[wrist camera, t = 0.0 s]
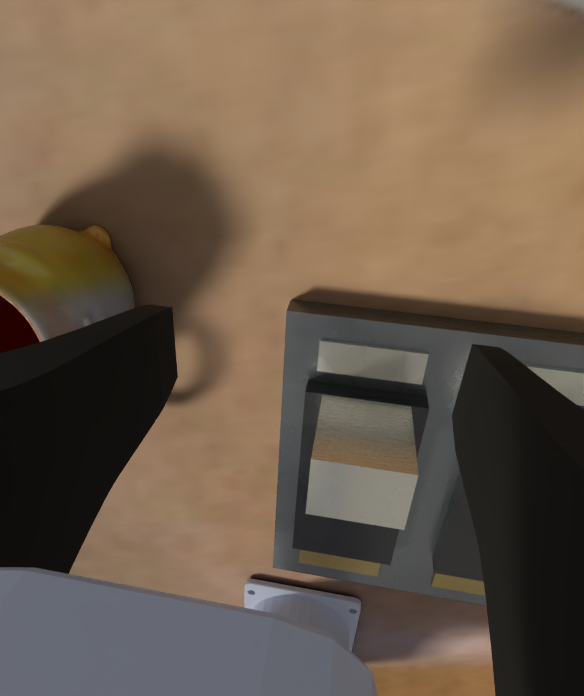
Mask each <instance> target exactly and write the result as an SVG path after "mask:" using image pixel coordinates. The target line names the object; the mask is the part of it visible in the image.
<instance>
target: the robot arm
mask: <svg viewBox="0 0 584 696" xmlns="http://www.w3.org/2000/svg"><path fill="white" fill-rule="evenodd" d="M177 377H178V376H177V363H176V351H175V338H174V326H173V313H172V307H164V306H156V305H145V306H140V307H137V308H134V309H131V310H128V311H125V312H122V313H119V314H117V315H114V316H111V317H109V318H106V319H103V320H101V321H98V322H95V323H93V324H90V325H88V326H85V327H82V328H80V329H77V330H74V331H71V332H68V333H65V334H62V335H59V336H56V337H53V338H50V339H48V340H45V341H42V342H39V343H36V344H32V345H29V346H26V347H22V348H19V349H15V350H11V351H7V352H3V353H0V696H377V691H376V687H375V682H374V678H373V673H372V671H371V670H370V669H369V668H368V667H367V666H366V665H365V664H364V663H363V662H362V661H361V660H360V659H359V658H358V657H357V656H355V655H354V654H353V653H352V648H353V643H354V639H355V634H356V629H357V625H358V620H359V615H360V611H361V601H360V600H359V599H358V598H355V597H349V596H344V595H339V594H333V593H328V592H322V591H317V590H311V589H306V588H300V587H295V586H289V585H284V584H279V583H273V582H268V581H262V580H257V579H248V580H246V583H245V608H243V607H238V606H233V605H228V604H223V603H217V602H212V601H207V600H202V599H196V598H191V597H186V596H181V595H176V594H170V593H165V592H160V591H155V590H149V589H144V588H139V587H134V586H129V585H123V584H118V583H113V582H108V581H102V580H97V579H92V578H87V577H82V576H76V575H71V574H69V572H70V569H71V567H72V565H73V563H74V561H75V559H76V557H77V555H78V553H79V550H80V548H81V546H82V544H83V542H84V540H85V538H86V536H87V534H88V532H89V530H90V528H91V526H92V524H93V522H94V520H95V518H96V516H97V514H98V512H99V510H100V508H101V506H102V504H103V502H104V500H105V498H106V497H107V495H108V493H109V491H110V489H111V488H112V486H113V484H114V483H115V481H116V479H117V478H118V476H119V475H120V473H121V472H122V470H123V469H124V467H125V466H126V464H127V463H128V461H129V460H130V458H131V457H132V455H133V454H134V452H135V451H136V449H137V448H138V446H139V445H140V443H141V442H142V440H143V439H144V437H145V436H146V434H147V433H148V431H149V430H150V428H151V427H152V425H153V424H154V422H155V420H156V419H157V417H158V416H159V414H160V413H161V411H162V410H163V408H164V406H165V404H166V402H167V400H168V397H169V395H170V393H171V391H172V389H173V386H174V384H175V382H176V380H177ZM452 422H453V435H454V444H455V452H456V457H457V461H458V465H459V469H460V473H461V477H462V481H463V485H464V489H465V493H466V497H467V501H468V505H469V509H470V513H471V517H472V521H473V525H474V529H475V533H476V537H477V542H478V547H479V552H480V559H481V566H482V573H483V581H484V588H485V596H486V604H487V613H488V622H489V631H490V640H491V649H492V660H493V671H494V683H495V694H496V696H584V409H582V408H581V407H579V406H578V405H576V404H575V403H574V402H572V401H571V400H570V399H568V398H567V397H565V396H564V395H563V394H561V393H560V392H559V391H557V390H556V389H555V388H553V387H552V386H551V385H550V384H548V383H547V382H546V381H544V380H543V379H542V378H541V377H539V376H538V375H537V374H535V373H534V372H533V371H532V370H530V369H529V368H528V367H527V366H525V365H524V364H523V363H521V362H520V361H519V360H518V359H516V358H515V357H514V356H512V355H511V354H510V353H508V352H507V351H505V350H503V349H502V348H500V347H494V346H485V345H477V344H472V346H471V349H470V353H469V356H468V360H467V364H466V367H465V371H464V374H463V378H462V381H461V385H460V388H459V392H458V395H457V399H456V402H455V406H454V409H453V413H452Z"/></svg>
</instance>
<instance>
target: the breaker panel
mask: <svg viewBox="0 0 584 696" xmlns="http://www.w3.org/2000/svg"><path fill="white" fill-rule="evenodd" d="M472 344H477V345H485V346H494V347H500V348H502V349H503V350H505V351H507V352H508V353H510V354H511V355H512V356H514V357H515V358H516V359H518V360H519V361H520V362H521V363H523V364H524V365H525V366H527V367H528V368H529V369H530V370H532V371H533V372H534V373H535V374H537V375H538V376H539V377H541V378H542V379H543V380H544V381H546V382H547V383H548V384H550V385H551V386H552V387H553V388H555V389H556V390H557V391H559V392H560V393H561V394H563V395H564V396H565V397H567V398H568V399H570V400H571V401H572V402H574V403H575V404H576V405H578V406H579V407H581V408H582V409H584V334H583V333H574V332H565V331H557V330H548V329H539V328H530V327H522V326H513V325H504V324H496V323H487V322H478V321H470V320H461V319H452V318H443V317H435V316H426V315H417V314H409V313H400V312H391V311H383V310H374V309H365V308H357V307H348V306H339V305H330V304H322V303H313V302H304V301H296V300H291V301H290V304H289V306H288V309H287V315H286V334H285V353H284V372H283V390H282V409H281V428H280V447H279V466H278V484H277V503H276V522H275V541H274V559H273V568H278V569H284V570H289V571H295V572H300V573H306V574H312V575H317V576H323V577H328V578H334V579H339V580H345V581H351V582H356V583H362V584H367V585H373V586H378V587H384V588H390V589H395V590H401V591H406V592H412V593H417V594H423V595H428V596H434V597H440V598H445V599H451V600H456V601H462V602H467V603H473V604H479V605H484V606H487V604H486V596H485V588H484V581H483V573H482V566H481V559H480V552H479V547H478V542H477V537H476V533H475V529H474V525H473V521H472V517H471V513H470V509H469V505H468V501H467V497H466V493H465V489H464V485H463V481H462V477H461V473H460V469H459V465H458V461H457V457H456V452H455V444H454V435H453V422H452V413H453V409H454V406H455V402H456V399H457V395H458V392H459V388H460V385H461V381H462V378H463V374H464V371H465V367H466V364H467V360H468V356H469V353H470V349H471V346H472Z"/></svg>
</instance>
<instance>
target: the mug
mask: <svg viewBox="0 0 584 696" xmlns="http://www.w3.org/2000/svg"><path fill="white" fill-rule="evenodd" d="M134 308H135V301H134V293H133V289H132V285H131V282H130V280H129V277H128V275H127V273H126V271H125V269H124V267H123V266H122V264H121V262H120V261H119V259H118V257H117V256H116V255H115V253H114V252H113V250H112V247H111V239H110V236H109V234H108V233H107V231H106V230H105V229H104V228H102V227H100V226H97V225H93V226H90V227H88V228H87V229H85V230H83V231H76V230H72V229H68V228H65V227H61V226H55V225H32V226H27V227H22V228H19V229H16V230H13V231H10V232H8V233H5V234H3V235H1V236H0V353H3V352H7V351H11V350H15V349H19V348H22V347H26V346H29V345H32V344H36V343H39V342H42V341H45V340H48V339H50V338H53V337H56V336H59V335H62V334H65V333H68V332H71V331H74V330H77V329H80V328H82V327H85V326H88V325H90V324H93V323H95V322H98V321H101V320H103V319H106V318H109V317H111V316H114V315H117V314H119V313H122V312H125V311H128V310H131V309H134Z"/></svg>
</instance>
